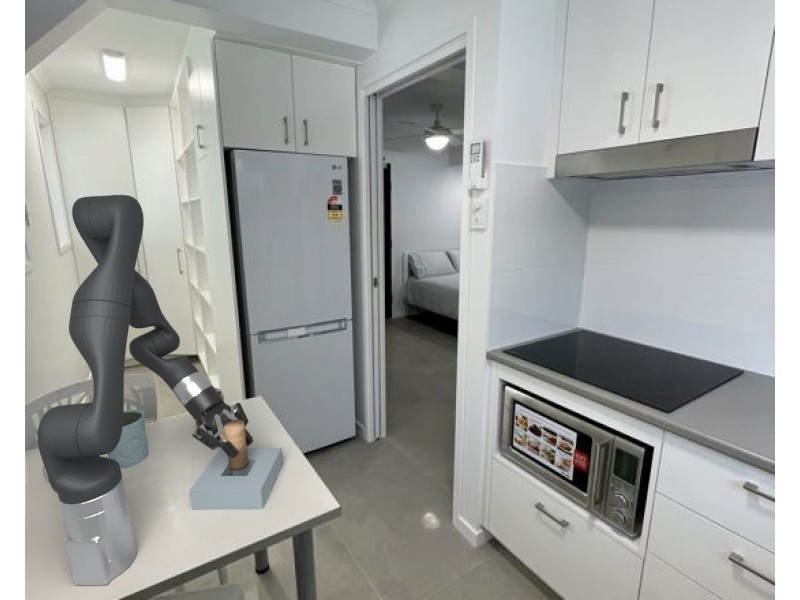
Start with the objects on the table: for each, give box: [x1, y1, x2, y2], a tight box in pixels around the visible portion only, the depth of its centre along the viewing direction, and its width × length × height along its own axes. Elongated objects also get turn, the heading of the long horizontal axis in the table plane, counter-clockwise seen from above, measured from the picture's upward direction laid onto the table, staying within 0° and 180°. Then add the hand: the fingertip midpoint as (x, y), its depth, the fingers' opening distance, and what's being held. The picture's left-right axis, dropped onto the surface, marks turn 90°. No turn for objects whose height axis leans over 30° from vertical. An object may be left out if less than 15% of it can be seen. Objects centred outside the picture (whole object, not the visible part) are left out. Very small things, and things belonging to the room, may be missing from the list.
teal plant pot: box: [107, 409, 149, 469], centre depth 108 cm, size 10×10×12 cm
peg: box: [224, 419, 249, 471], centre depth 96 cm, size 4×4×11 cm
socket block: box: [188, 447, 284, 510], centre depth 98 cm, size 16×16×5 cm
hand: (243, 449), depth 95 cm, fingers closed on peg, 4 cm apart
